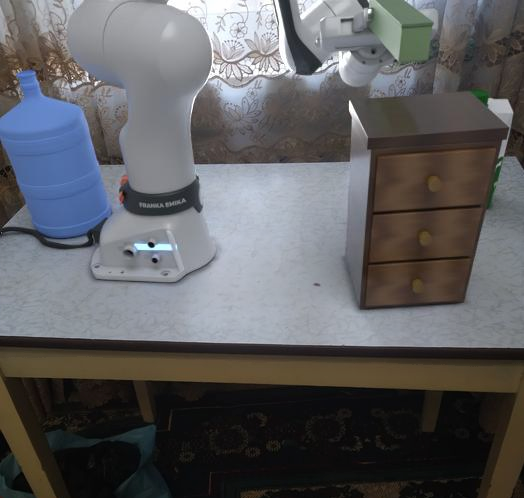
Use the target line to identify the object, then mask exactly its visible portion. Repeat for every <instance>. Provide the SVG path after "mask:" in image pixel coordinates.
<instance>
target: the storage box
mask: <svg viewBox="0 0 524 498" xmlns="http://www.w3.org/2000/svg"><path fill="white" fill-rule="evenodd" d="M368 2H369V8H371V7H373V9H374V12H373V13H374V18H373V20H372V23H368V27H369V28H370V29H371V30H372V32H373V33H374V34H375V35H376V36H377V37H378V39H379V40H380V41H381V42H382V43H383V44H384V46H385V47H386V48H387V49H388V50H389V51H390V53H391V54H392V55H393V56H394V57H395V59H396V60H397V61H398V62H397V63H405V62H406V63H408V62H421V61H428V60H429V53H430V48H431V47H430V45H431V41H430V39H431V32H432V25H433V24H434V22H433V21H432V20H430V19H429V18H428V17H426V16H425V15H424V14H422V13H421V12H420V11H418V9H417V8H416V7H414V6H413V5H412V4H410V3H409V2H408V1H406V0H368Z"/></svg>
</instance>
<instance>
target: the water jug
mask: <svg viewBox="0 0 524 498" xmlns="http://www.w3.org/2000/svg"><path fill="white" fill-rule="evenodd" d="M36 74H37V72H36V71H35V70H32V69H31V70H29V69H27V70H23V71H19V72H16V74H15V76H16V78H18V82H19V87H20V89H21V91H22V94H23V99H22V101H20V102H19V103H17V104H16V105H15V106H14V107H12V108H11V109H10V110H9V111H8V112H6V113H5V114H4V115H2V116H1V117H0V142H1V144H2V147H3V149H4V151H5V152H6V155H7V157H8V160H9V162H10V165H11V167H12V170H13V172H14V175H15V180H16V183H17V186H18V188H19V190H20V192H21V194H22V197H23V199H24V201H25V205H26V206H27V210H28V211H29V214H30V217H31V222H32V225H33V226H34V229H35V230H36V231H38V232H39V233H40V234H41V235H42V236H45V237H48V238H55V239H67V238H68V239H69V238H75V237H79V236H83V235H87V232H88V231H89V230H90V229H92V228H94V227H95V226H96V225H97V224H99V223H100V222H101V221H102V220H103V219H104V218H109V217H110V216H111V215H112V206H111V202H110V200H109V198H108V196H107V191H106V188H105V184H104V180H103V178H102V171H101V167H100V164H99V163H100V162H99V161H98V158H97V154H96V151H95V148H94V145H93V140H92V137H91V131H90V127H89V124H88V121H87V118H86V115H85V112H84V110H83V108H82V107H81V106H79V105H78V104H75V103H72V102H67V101H64V100H60V99H57V98H52V97H48V96H45V95H44V94H43V92H42V90H41V86H40V82H39V81H38V80H37V79H38V78H37V76H36Z"/></svg>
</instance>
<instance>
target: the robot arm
mask: <svg viewBox="0 0 524 498" xmlns="http://www.w3.org/2000/svg"><path fill="white" fill-rule="evenodd" d="M170 1H171V0H83V1H82V2H81V3H80V4H79V5H78V6H77V7H76V9H74V11H72V13H71V14H70V17H69V19H68V21H67V26H66V32H65V33H66V35H65V36H66V43H67V47H68V51H69V53H70V56H71V58H72V59H73V60H74V62H75V63H76V65H78V66H79V68H81V69H82V70H83V71H84V72H86V73H87V74H89V75H90V76H92V77H93V78H95V79H96V80H98V81H99V82H102V83H104V84H108V85H112V86H116V87H120V88H123V89H124V91H125V93H127V94H126V98H127V97H128V99H127V121H126V123H125V124H124V125H123V126H122V127H121V129H120V132H119V135H118V143H119V147H120V151H121V155H122V160H123V163H124V167H125V173H126V174H123V176H122V177H121V180H120V182H119V185H120V187H119V190H118V193H119V194H118V200H119V204H120V206H119V207H118V208H117V209H116V210H114V211H113V213H111V216H110V217H109V218H104V219H103V220H102V221H101V222H100V223H99V224H97V225H96V226H95V227H94V228H92V229H90V230H89V231H88V232H87V234H86V237H87V240H88V241H86V242H84V243H82V244H66V243H60V242H56V241H51V240H48V239H46V238H45V237H44V235H43V234H41V233H39V232H38V231H37V230H36V229H32V228H29V227H23V226H4V227H1V228H0V236H2V234H5V233H10V232H11V233H12V232H14V233H15V232H16V233H23V234H30V235H33V236H35V237H36V238H37V239H38V240H39V242H40V243H41V244H43V245H45V246H48V247H50V248H51V247H52V248H55V249H61V250H74V249H84V248H90V247H91V246H92V245H93V244H94V243H96V244H98V245H97V247H96V249H95V250H94V252H93V255H92V257H91V260H90V268H91V273H92V275H93V277H94V278H95V279H96V280H108V281H109V280H110V281H128V282H129V281H131V282H150V283H151V282H152V283H153V282H154V283H176V282H178V281H179V280H181V279H183V278H184V277H185V276H186V275H187V274H189V273H192V272H194V271H196V270H197V269H198V270H199V269H200V268H203V267H204V266H206V265H207V264H208V263H210V262H211V260H212V259H214V258H215V255H216V253H217V246H216V244H215V241H214V239H213V237H212V235H211V233H210V230H209V226H208V224H207V220H206V217H205V214H204V210H203V208H204V196H203V190H202V184H201V182H200V177H199V174H198V172H197V171H196V166H195V160H194V159H195V158H194V151H193V143H192V133H191V122H192V120H191V119H192V112H193V107H194V103H195V99H196V98H197V96H198V93H199V92H201V90H202V89H203V88H204V86H206V84H207V82H208V80H209V78H210V76H211V73H212V69H213V65H214V49H213V41H212V39H211V36H210V33H209V31H208V30H207V28H206V26H205V25H204V24H203V22H202V21H200V19H198V18H197V17H196V16H193V15H192V14H190V13H188V12H186V11H184V10H182V9H179V8H177V7H175V6H172V5H169V3H170ZM270 2H271V7H272V11H273V16H274V21H275V26H276V33H277V34H276V35H277V46H278V50H279V53H280V57H281V59H282V61H283V64H284V65H285V66H286V67H287V69H288V70H289V71H290V72H291V73H292V74H294V75H297V76H304V77H305V76H306V77H307V76H310V77H311V76H313V74H314V73H315V72H317V71H318V70H319V69H320V68H321V67H322V66H323V64H325V63H326V62H327V61H328V60H330V59H331V58H332V57H333V56H335V55H336V54H337V53H338V55H339V61H338V74H339V76H340V78H341V80H342V82H343V83H345V84H346V85H347V86H350V87H355V88H357V87H363V86H367V85H368V84H369V83H371V82H373V80H374V79H375V78H376V77H377V76H378V74H379V73H380V72H381V70H382V69H383V68H384V67H387V66H389V65H392V64H394V63H399V62H398V61H397V60H396V59H395V57H394V56H393V55H392V54H391V53H390V51H389V50H388V49H387V48H386V47H385V46H384V44H383V43H382V42H381V41H380V40H379V39H378V37H377V36H376V35H375V34H374V33H373V32H372V30H371V29H370V28H369V27H368V23H372V20H373V18H374V13H373V12H374V9H373V7H371V8H369V0H318V1H317V2H316V3H314V4H313V5H312V6H311V7H309V8H308V9H307V10H306V11H304V12H303V13H302V14H301V11H300V10H301V9H300V5H299V1H298V0H270ZM417 10H418V11H420V12H421V13H422V14H424V15H425V16H426V17H428V18H429V19H430V20H432V21H433V22H434V24H433V25H432V32H431V39H430V42H431V41H432V40H433V39H434V37H436V35H437V33H438V30H439V12H438V9H436V8H434V7H432V8H431V7H430V8H420V9H419V8H418V9H417ZM1 232H2V233H1Z"/></svg>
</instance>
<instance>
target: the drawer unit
mask: <svg viewBox="0 0 524 498" xmlns="http://www.w3.org/2000/svg"><path fill="white" fill-rule="evenodd" d="M348 102H349V103H348V111H349V113H350V117H351V129H350V130H351V131H350V132H351V133H350V149H349V150H350V151H349V152H350V154H349V170H348V171H349V174H348V176H349V177H348V193H347V216H346V234H345V235H346V237H345V261H346V265H347V269H348V272H349V276H350V281H351V283H352V287H353V291H354V295H355V299H356V302H357V305H358V308H359V310H367V309H368V310H369V309H380V308H381V309H382V308H399V307H415V306H429V305H442V304H443V305H445V304H446V305H447V304H459V303H465V300H466V297H467V292H468V288H469V283H470V279H471V274H472V271H473V268H474V267H473V266H474V261H475V258H476V254H477V250H478V245H479V241H480V237H481V233H482V228H483V224H484V219H485V216H486V211H487V209H486V208H487V204H488V199H489V195H490V191H491V187H492V183H493V178H494V174H495V170H496V166H497V162H498V157H499V153H500V149H501V145H502V140H507V136H508V132H509V127H508V126H507V125H506V124H505V123H504V122H503V121H502V120H501V119H500V118H499V117H498V116H496V115H495V114H494V113H493V112H492V111H491V110H490V109H489V108H488V107H487V106H486V105H484V104H483V103H482V102H481V101H480V100H479V99H478V98H477V97H476V96H475V95H473V94H472V93H471V92H470V91H469V90H464V91H463V90H461V91H450V92H437V93H425V94H424V93H423V94H412V95H411V94H410V95H398V96H396V95H395V96H383V97H382V96H381V97H373V98H372V97H371V98H356V99H349V101H348Z"/></svg>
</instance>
